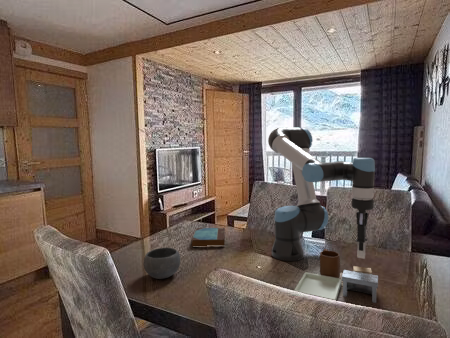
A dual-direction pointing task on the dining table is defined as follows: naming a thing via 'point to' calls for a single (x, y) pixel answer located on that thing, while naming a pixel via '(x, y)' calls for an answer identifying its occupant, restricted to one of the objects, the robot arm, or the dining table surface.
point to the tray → (319, 285)
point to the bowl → (162, 262)
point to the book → (209, 236)
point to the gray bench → (360, 283)
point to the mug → (330, 263)
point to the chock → (362, 270)
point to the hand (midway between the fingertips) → (361, 257)
